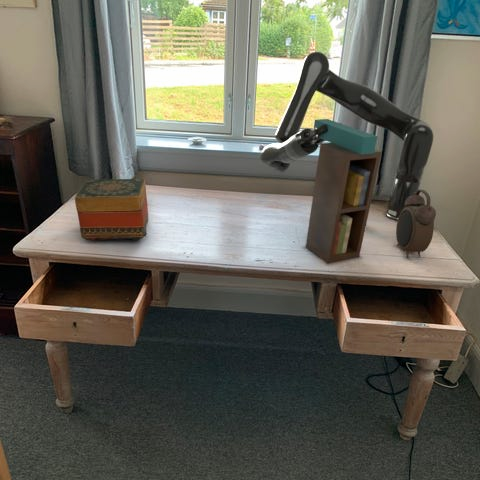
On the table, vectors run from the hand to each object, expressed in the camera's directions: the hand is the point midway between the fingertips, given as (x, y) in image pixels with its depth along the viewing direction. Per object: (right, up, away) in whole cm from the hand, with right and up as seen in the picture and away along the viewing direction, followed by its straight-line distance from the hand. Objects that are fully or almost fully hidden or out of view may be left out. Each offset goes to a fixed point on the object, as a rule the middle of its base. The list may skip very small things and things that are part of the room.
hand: (333, 127), depth 137 cm
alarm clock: (+27, -34, +17) cm, 46 cm away
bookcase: (+2, -34, +13) cm, 37 cm away
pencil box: (+2, -5, -1) cm, 6 cm away
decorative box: (-66, -28, +16) cm, 74 cm away
